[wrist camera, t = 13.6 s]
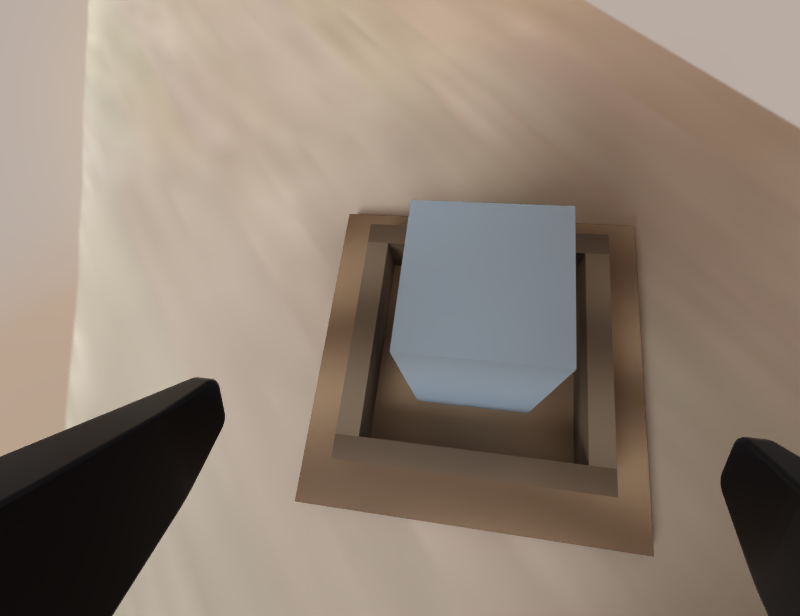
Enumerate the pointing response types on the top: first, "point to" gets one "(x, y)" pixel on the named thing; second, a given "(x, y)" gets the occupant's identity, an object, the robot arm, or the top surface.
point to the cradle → (485, 413)
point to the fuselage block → (486, 303)
